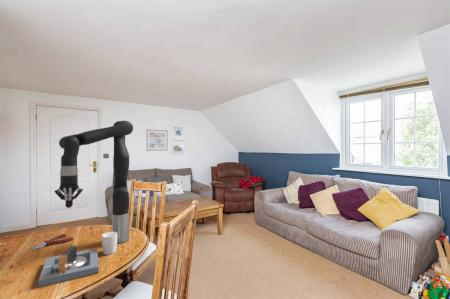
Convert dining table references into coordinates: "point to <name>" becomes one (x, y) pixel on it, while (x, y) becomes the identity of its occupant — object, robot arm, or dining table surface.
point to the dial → (70, 260)
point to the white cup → (109, 242)
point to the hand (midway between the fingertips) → (69, 207)
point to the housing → (52, 276)
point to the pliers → (53, 241)
